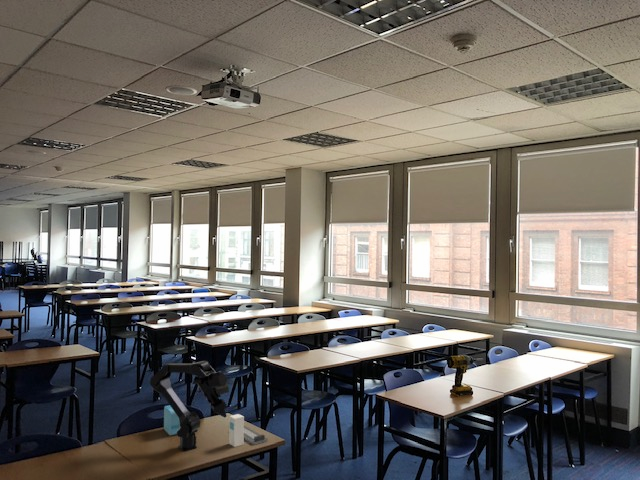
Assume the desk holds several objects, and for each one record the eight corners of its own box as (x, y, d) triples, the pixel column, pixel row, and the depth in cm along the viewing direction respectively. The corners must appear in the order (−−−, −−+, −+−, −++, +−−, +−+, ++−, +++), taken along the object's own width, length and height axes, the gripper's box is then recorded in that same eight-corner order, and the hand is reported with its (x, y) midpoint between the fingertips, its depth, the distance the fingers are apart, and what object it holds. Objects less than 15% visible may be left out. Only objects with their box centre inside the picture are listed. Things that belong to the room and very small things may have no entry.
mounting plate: (253, 445, 232) (253, 438, 232) (230, 431, 249) (230, 425, 249) (267, 441, 237) (267, 434, 237) (244, 428, 254) (244, 422, 254)
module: (234, 447, 229) (234, 418, 230) (228, 443, 233) (229, 416, 234) (243, 444, 233) (244, 416, 233) (238, 441, 236) (238, 413, 237)
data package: (179, 434, 244) (179, 410, 245) (170, 436, 242) (170, 411, 242) (172, 427, 255) (172, 403, 255) (163, 429, 252) (164, 405, 252)
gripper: (228, 385, 221) (243, 410, 227) (216, 369, 237) (231, 393, 243) (207, 401, 218) (222, 426, 223) (196, 383, 234) (211, 407, 240)
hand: (222, 412), depth 232 cm, fingers open, 9 cm apart
